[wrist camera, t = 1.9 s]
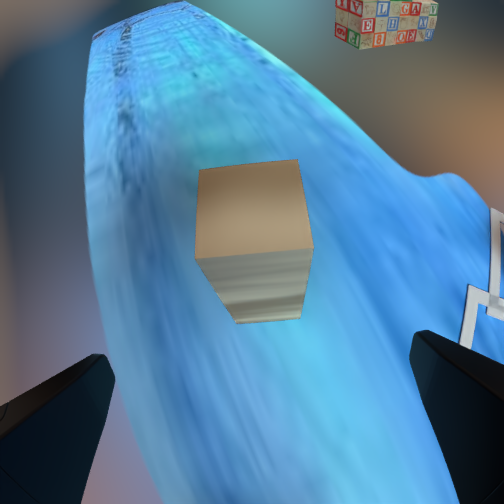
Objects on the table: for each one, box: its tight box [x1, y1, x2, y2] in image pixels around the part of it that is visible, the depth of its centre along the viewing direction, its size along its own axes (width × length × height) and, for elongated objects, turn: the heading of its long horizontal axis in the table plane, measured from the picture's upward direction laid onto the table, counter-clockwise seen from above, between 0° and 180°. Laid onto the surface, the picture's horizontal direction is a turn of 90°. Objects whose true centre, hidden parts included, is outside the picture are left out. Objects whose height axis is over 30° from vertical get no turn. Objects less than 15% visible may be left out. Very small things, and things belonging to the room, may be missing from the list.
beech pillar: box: [195, 159, 314, 324], centre depth 17 cm, size 4×4×11 cm
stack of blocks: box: [335, 0, 439, 50], centre depth 35 cm, size 21×6×12 cm, turn 118°
